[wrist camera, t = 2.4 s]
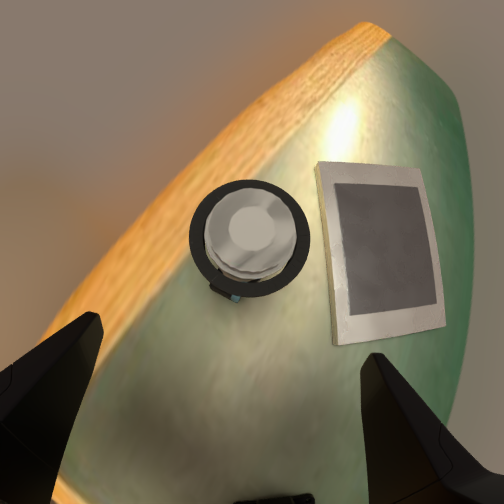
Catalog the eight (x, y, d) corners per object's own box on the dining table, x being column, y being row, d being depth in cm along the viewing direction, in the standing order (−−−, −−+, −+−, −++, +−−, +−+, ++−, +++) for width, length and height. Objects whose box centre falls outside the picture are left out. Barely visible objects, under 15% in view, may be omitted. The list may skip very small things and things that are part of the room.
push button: (235, 206, 23) (240, 129, 13) (298, 239, 23) (345, 182, 13) (191, 283, 22) (161, 254, 12) (257, 319, 21) (281, 318, 12)
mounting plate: (437, 326, 22) (447, 326, 21) (332, 344, 21) (339, 345, 20) (413, 174, 25) (420, 167, 24) (314, 168, 24) (318, 160, 23)
